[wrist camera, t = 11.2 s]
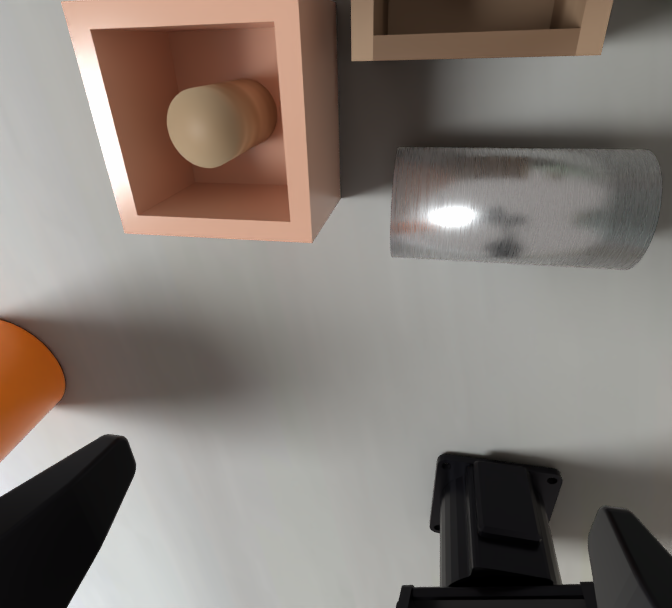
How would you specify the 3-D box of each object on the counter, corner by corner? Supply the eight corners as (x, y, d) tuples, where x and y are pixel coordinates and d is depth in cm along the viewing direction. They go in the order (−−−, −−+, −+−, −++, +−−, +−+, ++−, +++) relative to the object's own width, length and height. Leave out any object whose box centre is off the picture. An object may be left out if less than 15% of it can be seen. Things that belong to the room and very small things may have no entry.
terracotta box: (340, 198, 19) (312, 243, 15) (189, 193, 21) (124, 233, 16) (335, 2, 16) (297, -12, 12) (155, 11, 17) (61, 1, 13)
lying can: (627, 139, 16) (677, 164, 13) (598, 243, 18) (634, 290, 15) (402, 137, 18) (392, 160, 14) (397, 234, 20) (388, 275, 16)
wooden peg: (280, 144, 18) (242, 168, 15) (224, 144, 19) (175, 167, 15) (274, 77, 17) (232, 87, 14) (214, 79, 17) (159, 88, 14)
